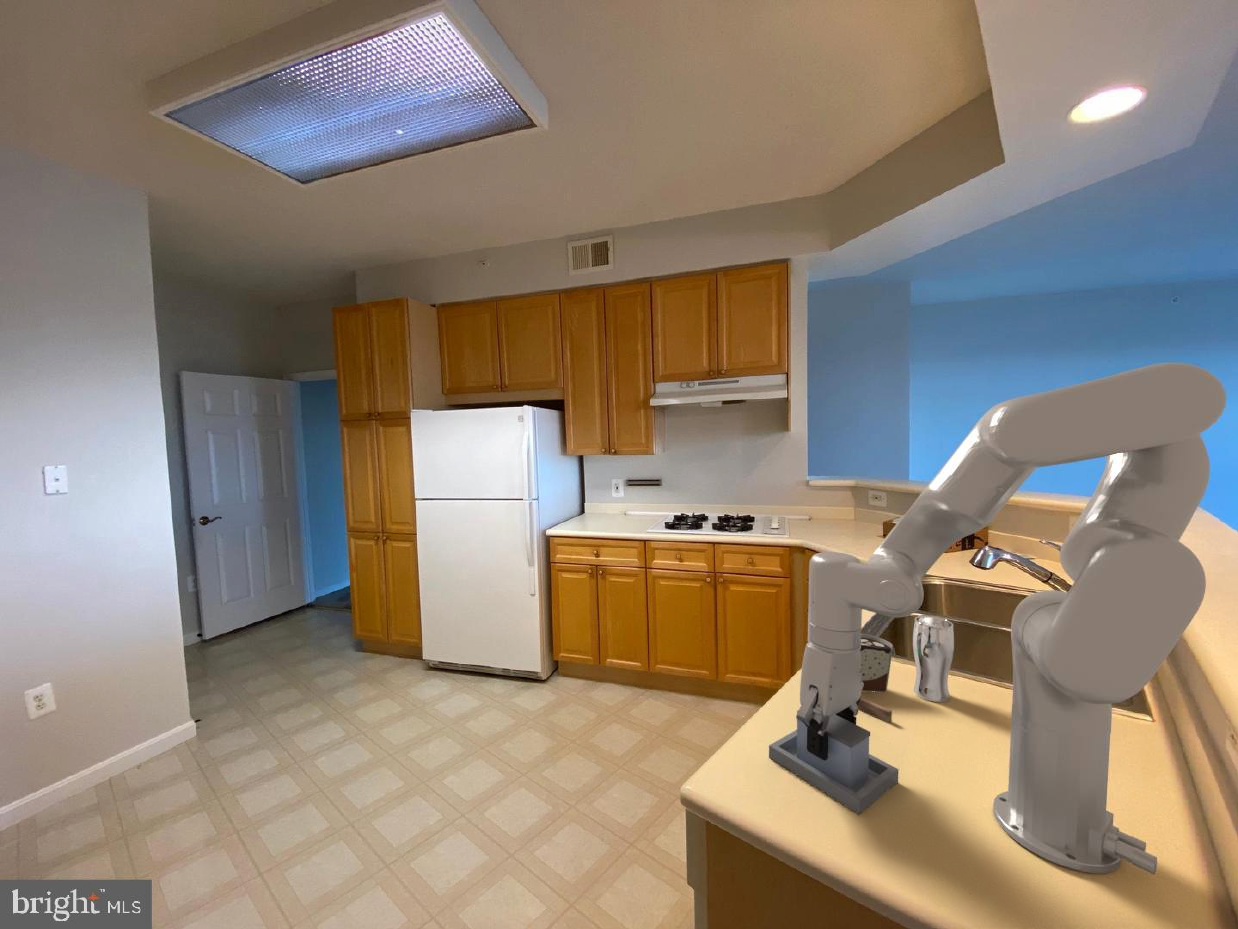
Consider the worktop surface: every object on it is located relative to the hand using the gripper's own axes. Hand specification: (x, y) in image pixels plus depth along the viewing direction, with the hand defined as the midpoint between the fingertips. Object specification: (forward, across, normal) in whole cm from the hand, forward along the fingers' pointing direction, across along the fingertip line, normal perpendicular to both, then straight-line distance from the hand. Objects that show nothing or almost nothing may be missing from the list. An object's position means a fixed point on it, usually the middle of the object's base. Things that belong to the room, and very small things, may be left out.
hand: (831, 745), depth 77 cm
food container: (+4, -29, -12) cm, 32 cm away
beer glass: (+4, -37, -1) cm, 37 cm away
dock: (+4, -14, -6) cm, 16 cm away
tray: (+4, 0, 0) cm, 4 cm away
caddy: (+3, 0, 0) cm, 3 cm away
